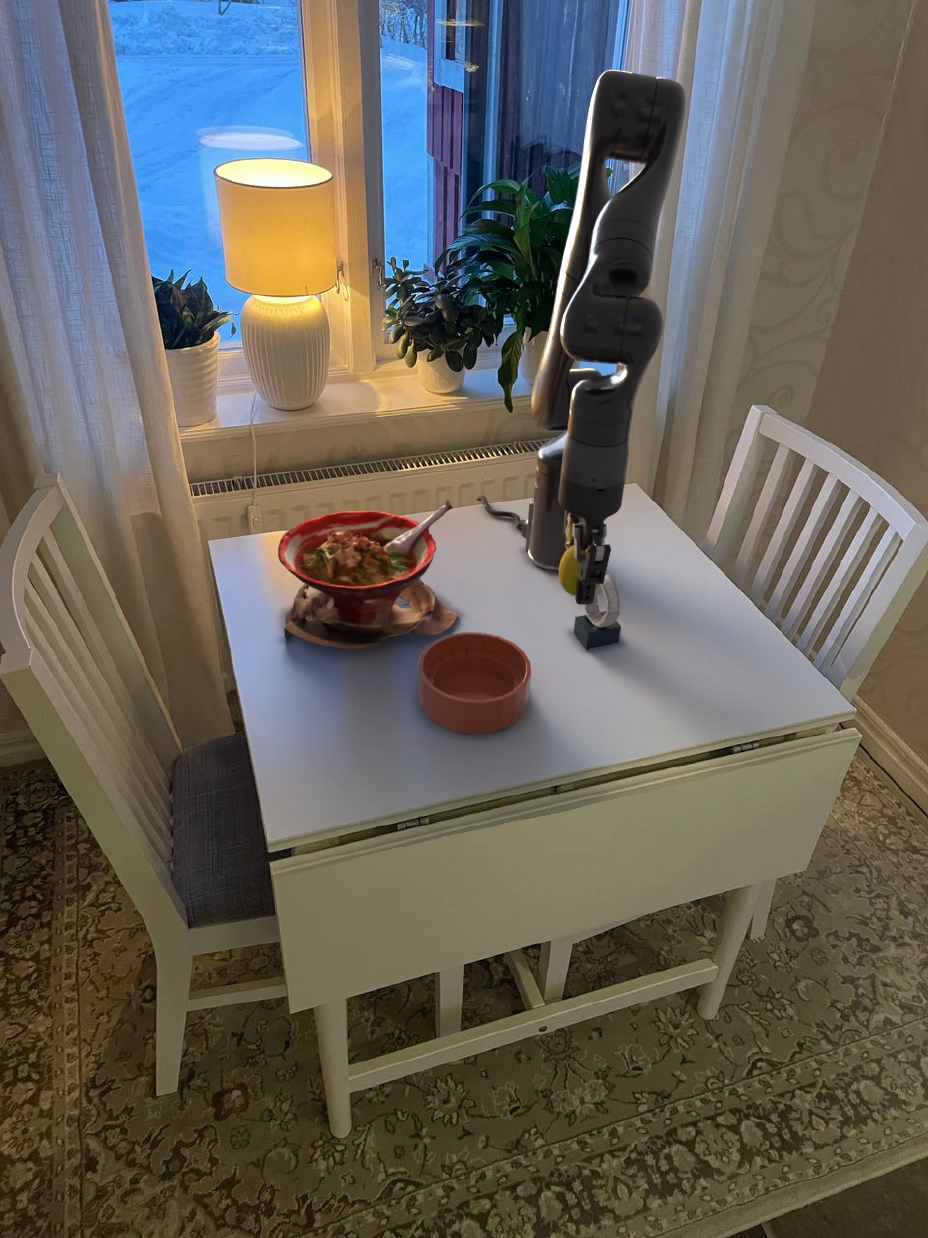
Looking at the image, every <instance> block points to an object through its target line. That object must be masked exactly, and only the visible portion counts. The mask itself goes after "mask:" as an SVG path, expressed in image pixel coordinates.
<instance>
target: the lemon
mask: <svg viewBox="0 0 928 1238" xmlns="http://www.w3.org/2000/svg"><path fill="white" fill-rule="evenodd" d="M581 554H586V551H583V550H581ZM584 564H585V563H584ZM558 579H559V582H560V585H561V588H562V589H564V591H565V592H566V593H568V594H569V595H571V596H573V597H575V596H576V588H577V580H578V561H576V560H575V559H574V545H573V546H571V547H570V548H568V549H567V550H566V552H565V553H564V555H563V557H562V559H561V562H560V566H559V571H558ZM599 585H600V584H596V588H595V590H596V589H597V588H598V587H599Z"/></svg>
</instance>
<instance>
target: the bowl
mask: <svg viewBox="0 0 928 1238" xmlns="http://www.w3.org/2000/svg"><path fill="white" fill-rule="evenodd" d="M417 673H418V675H417V676H418V679H417V681H418V682H417V684H418V686H417V687H418V689H417V695H418V696H417V697H418V699H417V700H418V703H419V705H420V707H421V709H422V712H423V713H424V714H425V715H426V716H427V717H428V718H429V719H430V720H431V721H432V722H433V723H436V724H437V725H439V726H441V727H443V728H445V729H446V730H449V731H450V730H451V731H455V732H458V733H463V734H487V733H493V732H498V731H501V730H503V729H505V728H507V727H509V726H511V725H513V724H515V723H516V722H517V721H518V720H519V719H520V718H521V717H523V715H524V714H525V712H526V710H527V707H528V705H529V699H530V690H531V679H532V666H531V661H530V659H529V657H528V656H527V654H526V653H525V651H524V650H523V649H522V648H520V647H519V646H518V645H517V644H516V643H514V642H513V641H510V640H509V639H506V638H505V637H503V636H499V635H495V634H491V633H487V632H477V631H476V632H471V631H466V632H465V631H464V632H459V633H452V634H449V635H446V636H444V637H440V638H439V639H436V640H435V641H433V642H432V643H431V644H429V645H428V646H427V647H426V648H425V649H424V650H423V652H422V653H421V655H420V657H419V658H418V672H417Z"/></svg>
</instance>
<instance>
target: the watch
mask: <svg viewBox="0 0 928 1238" xmlns="http://www.w3.org/2000/svg"><path fill="white" fill-rule="evenodd" d="M602 592H603V594H604V597H605V601H606V602H605V603H606V610H603V611H601V610H600V606H599V602H598V595H600V594H601V593H602ZM620 597H621V595H620V591H619V588H618V585H617V583H616V581H615V579H614V578H613V576H612V574H609V572H606V575H605V579H604V583H603V584H600V585H599V587H598V588H597V589H596V590H595V595H594V602H593V603H592V604H583V605H582V606H583V608H584V612H585V614H583V615H579V616H575V619H574V624H573V633H572V634H573V635H574V636H575V638H576V639H577V640H578V642H579V643H580V644H581V646H582V647H583V648H584V649H585V651H587V650H592V649H596V648H602V647H605V646H610V645H615V644H619V642H620V636H621V630H622V626H621V624H620V623H619V622H618V621H617V620H618V618H619V616H620V615H621V612H620V611H621V610H620V609H621V598H620Z"/></svg>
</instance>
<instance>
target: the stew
mask: <svg viewBox="0 0 928 1238" xmlns="http://www.w3.org/2000/svg"><path fill="white" fill-rule="evenodd" d="M452 509H453V505H452V504H451V502H450V500H449V499H446V501H445V503H444V505H442V506H439V509H438V510H436V511H435V512H433V513H432V514H431V515H430V516H429V517H427V518H426V519H425V520H423V521H422V522H421V523H419V522H417V521H416V520H413V519H411V518H409V517H406V516H400V515H397V514H394V513H390V512H386V511H385V512H383V511H375V510H359V511H358V510H356V511H354V510H353V511H348V510H347V511H336V512H332V513H328V514H324V515H321V516H318V517H313V518H308V519H305V520H304V521H303V522H301V523H299V524H297V525H296V526H295V527H293V528H291V529H289V530H287V531H286V532H285V533H284V534H283V535H282V537H281V538H280V541H279V543H278V547H277V548H278V549H277V557H278V560H279V562H280V563H281V564H282V566H283V567H284V568H285V569H286V570H287V571H288V572H289V573H291V574H292V575H293V576H294V577H296V579H298V580H299V581H300V582H302V583H303V585H301V587H300V589H299V590H298V591H297V594H296V595H295V596H294V599H293V603H292V604H293V605H292V606H291V608H290V609H289V610H288V611H286V613H285V627H284V628H283V632H284V640H287V639H288V636H289V633H290V634H292V635H293V636H296V637H298V638H300V639H302V640H305V641H308V642H311V643H314V644H318V645H322V646H328V647H333V648H343V649H365V648H367V647H370V646H372V645H375V644H378V643H381V642H382V641H385V640H390V639H391V638H392V639H393V638H395V637H397V636H401V635H404V634H418V635H422V636H431V635H435V636H436V635H440V634H441V633H444V632H446V630H448V629H449V628H451V627H452V626H453V624H454V623H455V621H456V620H457V617H458V614H457V613H456V612H454V611H452V610H450V609H448V608H447V607H446V606H445V604H444V603H443V602H442V601H440V600H439V598H438V597H437V595H436V594H435V592H434V591H433V589H432V587H431V586H429V585H428V584H425V583H424V581H422V579H421V578H422V577H423V576H424V574H425V573H426V572H427V570H428V569H429V568H430V566H431V564H432V562H433V560H434V555H435V553H436V551H437V544H436V541H435V539H434V537H433V535H432V533H430V528H431V526H432V525H434V523H436V522H437V521H438V520H439V519H441V518H442V517H444V515H445V514H446V513H447V512H449V511H450V510H452ZM309 588H311V589H314V590H316V591H319V592H320V593H318V594H317V595H316V594H313V595H311V596H308V595H307V593H308V590H309ZM399 597H402V598H403V599H405V600H407V602H403V605H405V604H408V605H409V606H410V607H405V608H404V607H400V604H396V601H397V599H398V598H399ZM330 599H332V605H331V606H330V607H329V608H328V607H327V605H328V604H329V602H330ZM408 602H409V603H408Z"/></svg>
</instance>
